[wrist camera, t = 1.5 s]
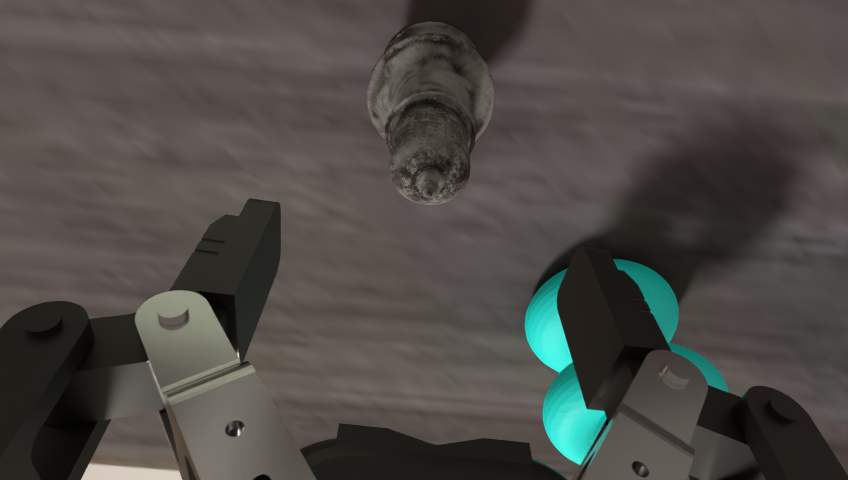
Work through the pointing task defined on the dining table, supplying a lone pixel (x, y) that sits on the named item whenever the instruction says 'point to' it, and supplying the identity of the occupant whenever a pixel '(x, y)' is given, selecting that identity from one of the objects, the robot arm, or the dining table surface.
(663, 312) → the donuts
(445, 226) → the dining table surface
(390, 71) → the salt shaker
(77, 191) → the dining table surface
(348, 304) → the dining table surface
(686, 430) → the robot arm
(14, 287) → the dining table surface
